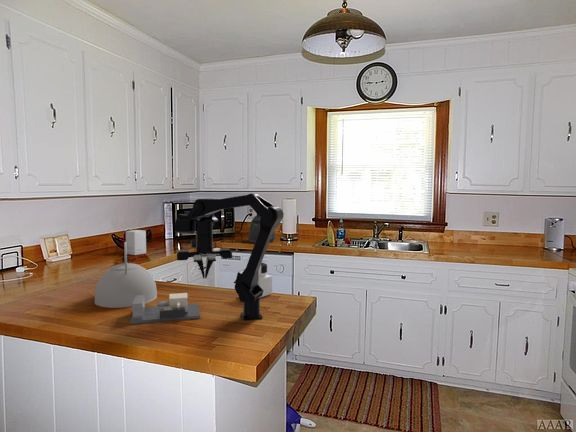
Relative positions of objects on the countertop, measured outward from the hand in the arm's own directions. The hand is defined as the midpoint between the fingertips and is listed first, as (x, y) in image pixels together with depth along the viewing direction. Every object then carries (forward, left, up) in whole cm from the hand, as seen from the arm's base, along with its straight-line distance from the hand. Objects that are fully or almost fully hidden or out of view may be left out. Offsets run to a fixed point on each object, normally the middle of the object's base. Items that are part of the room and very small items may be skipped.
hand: (204, 278), depth 137 cm
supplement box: (+127, +35, -12) cm, 132 cm away
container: (+17, -23, -12) cm, 31 cm away
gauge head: (-2, +11, -11) cm, 15 cm away
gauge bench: (0, +13, -12) cm, 18 cm away
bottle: (+157, -54, -12) cm, 166 cm away
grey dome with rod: (+25, +29, -12) cm, 40 cm away
